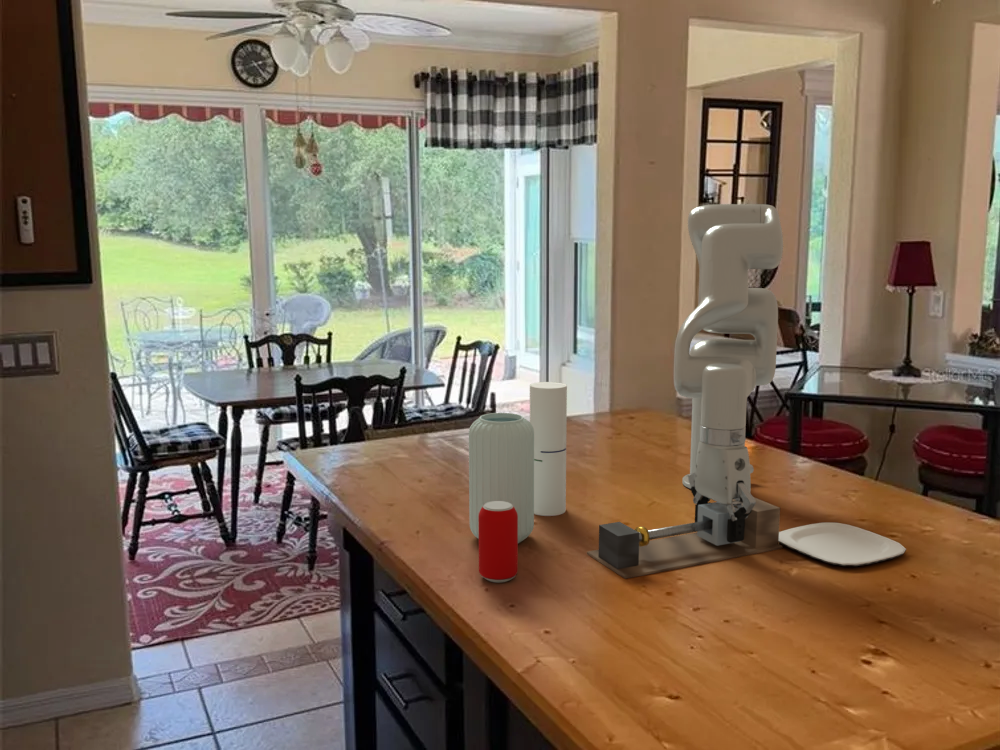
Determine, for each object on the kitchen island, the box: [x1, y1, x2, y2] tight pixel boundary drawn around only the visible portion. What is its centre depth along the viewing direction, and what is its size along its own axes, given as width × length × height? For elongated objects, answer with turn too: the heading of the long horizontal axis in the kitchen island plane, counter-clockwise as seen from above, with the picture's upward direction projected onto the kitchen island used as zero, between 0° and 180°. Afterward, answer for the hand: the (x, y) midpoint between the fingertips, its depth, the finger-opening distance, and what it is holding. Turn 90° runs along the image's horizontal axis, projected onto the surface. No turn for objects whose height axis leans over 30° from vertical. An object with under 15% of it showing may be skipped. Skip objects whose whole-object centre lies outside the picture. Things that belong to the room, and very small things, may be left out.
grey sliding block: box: [697, 501, 740, 546], centre depth 156 cm, size 5×6×6 cm
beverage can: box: [478, 501, 519, 584], centre depth 141 cm, size 6×6×12 cm
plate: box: [778, 522, 907, 567], centre depth 155 cm, size 18×18×2 cm
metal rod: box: [634, 520, 713, 547], centre depth 152 cm, size 26×3×3 cm, turn 115°
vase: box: [468, 412, 535, 544], centre depth 158 cm, size 12×12×22 cm
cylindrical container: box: [529, 381, 568, 517], centre depth 174 cm, size 7×7×25 cm
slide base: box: [586, 496, 783, 579], centre depth 153 cm, size 32×12×7 cm, turn 115°
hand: (718, 532), depth 156 cm, fingers open, 8 cm apart
